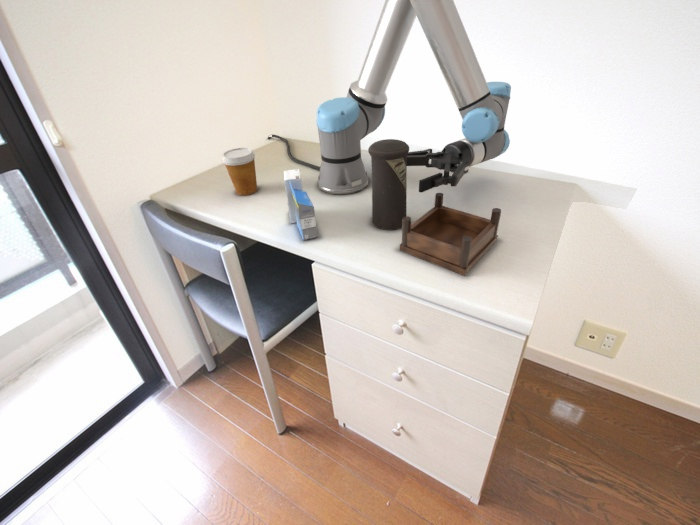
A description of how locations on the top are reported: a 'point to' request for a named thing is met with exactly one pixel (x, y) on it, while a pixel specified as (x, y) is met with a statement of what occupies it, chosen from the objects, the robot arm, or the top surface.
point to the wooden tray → (450, 236)
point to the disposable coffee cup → (241, 169)
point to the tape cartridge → (304, 214)
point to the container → (389, 183)
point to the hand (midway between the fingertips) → (399, 177)
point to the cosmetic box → (297, 185)
